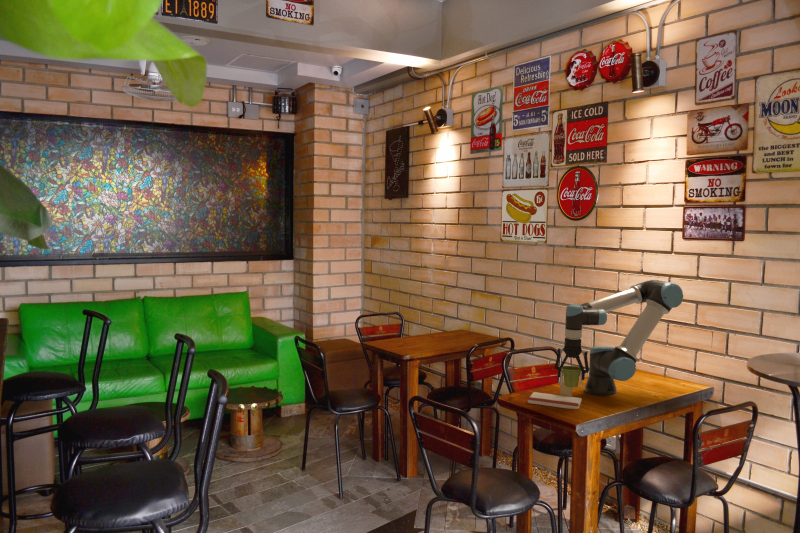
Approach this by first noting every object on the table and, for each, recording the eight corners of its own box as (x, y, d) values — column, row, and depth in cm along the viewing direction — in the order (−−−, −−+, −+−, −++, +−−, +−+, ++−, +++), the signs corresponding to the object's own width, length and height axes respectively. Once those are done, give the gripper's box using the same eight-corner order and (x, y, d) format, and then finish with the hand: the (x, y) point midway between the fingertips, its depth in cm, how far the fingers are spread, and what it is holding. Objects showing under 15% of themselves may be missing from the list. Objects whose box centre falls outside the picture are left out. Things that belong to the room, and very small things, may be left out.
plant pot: (558, 386, 279) (558, 368, 278) (563, 382, 287) (564, 364, 286) (578, 390, 274) (578, 371, 273) (583, 385, 282) (584, 367, 281)
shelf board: (581, 401, 285) (581, 395, 284) (578, 409, 272) (578, 403, 271) (533, 394, 294) (533, 389, 293) (527, 402, 281) (528, 397, 281)
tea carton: (572, 394, 295) (572, 379, 294) (570, 399, 288) (570, 383, 287) (561, 393, 297) (562, 377, 296) (559, 397, 290) (559, 381, 289)
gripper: (597, 338, 278) (594, 386, 280) (551, 334, 286) (549, 380, 288) (595, 341, 271) (593, 390, 273) (549, 337, 279) (547, 384, 281)
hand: (570, 385), depth 281 cm, fingers closed on plant pot, 8 cm apart
